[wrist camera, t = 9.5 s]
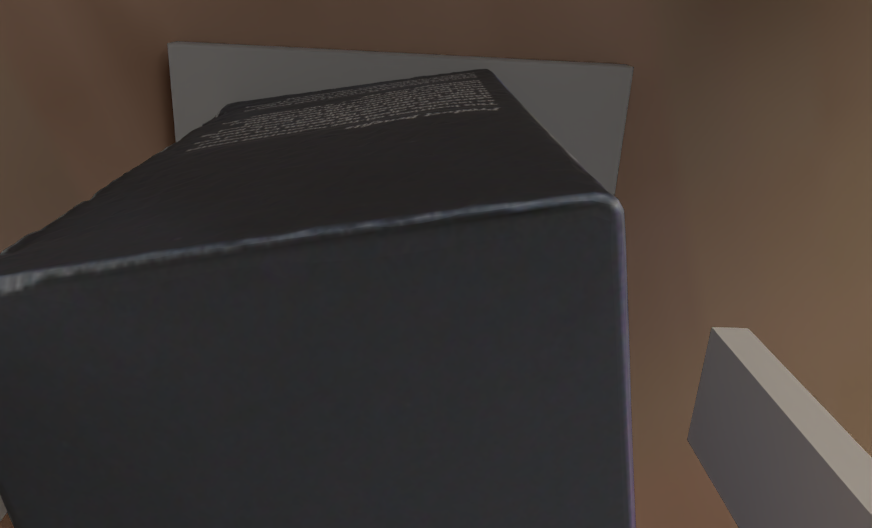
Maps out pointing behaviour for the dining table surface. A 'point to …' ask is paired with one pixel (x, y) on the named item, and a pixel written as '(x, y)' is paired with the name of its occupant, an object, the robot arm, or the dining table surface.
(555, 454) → the small box
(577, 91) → the felt mat
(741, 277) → the dining table surface
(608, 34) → the dining table surface
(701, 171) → the dining table surface
